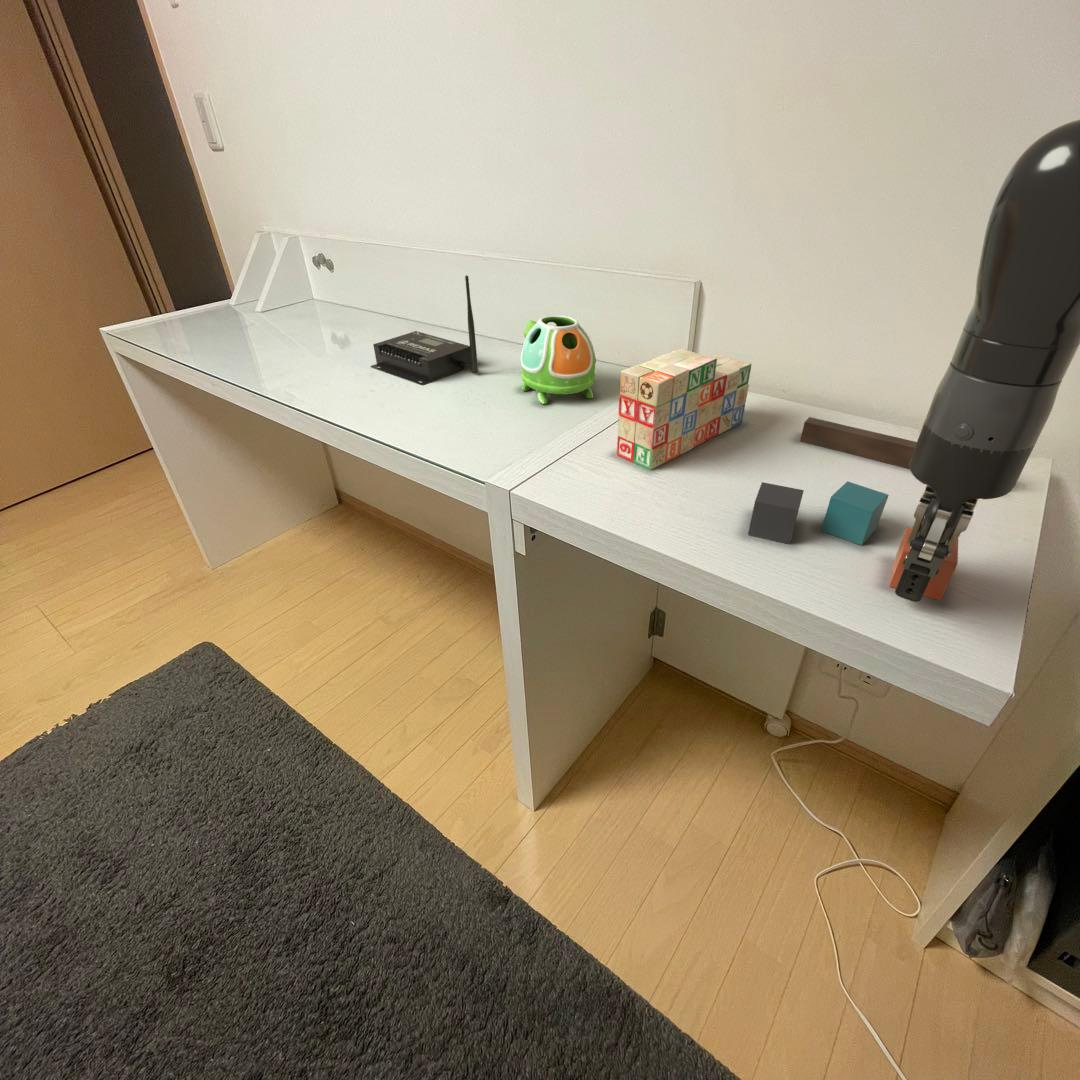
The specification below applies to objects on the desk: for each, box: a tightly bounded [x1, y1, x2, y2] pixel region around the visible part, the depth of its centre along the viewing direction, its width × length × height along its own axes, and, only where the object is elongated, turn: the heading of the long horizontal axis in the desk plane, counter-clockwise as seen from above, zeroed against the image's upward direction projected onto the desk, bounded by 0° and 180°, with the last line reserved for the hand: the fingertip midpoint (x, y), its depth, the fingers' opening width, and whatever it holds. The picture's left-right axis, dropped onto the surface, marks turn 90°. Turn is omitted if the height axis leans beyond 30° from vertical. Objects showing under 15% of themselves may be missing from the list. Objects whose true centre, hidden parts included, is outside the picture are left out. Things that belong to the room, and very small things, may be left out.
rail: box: [799, 416, 917, 470], centre depth 81 cm, size 24×2×3 cm, turn 52°
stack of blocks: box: [616, 348, 752, 471], centre depth 85 cm, size 21×6×12 cm, turn 131°
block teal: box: [820, 481, 889, 546], centre depth 68 cm, size 4×4×4 cm
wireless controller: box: [369, 274, 479, 386], centre depth 111 cm, size 20×14×17 cm
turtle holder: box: [520, 314, 597, 405], centre depth 103 cm, size 12×18×12 cm
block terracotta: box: [889, 527, 959, 601], centre depth 60 cm, size 4×4×4 cm
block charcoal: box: [747, 481, 805, 545], centre depth 68 cm, size 4×4×4 cm
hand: (908, 594), depth 58 cm, fingers closed
